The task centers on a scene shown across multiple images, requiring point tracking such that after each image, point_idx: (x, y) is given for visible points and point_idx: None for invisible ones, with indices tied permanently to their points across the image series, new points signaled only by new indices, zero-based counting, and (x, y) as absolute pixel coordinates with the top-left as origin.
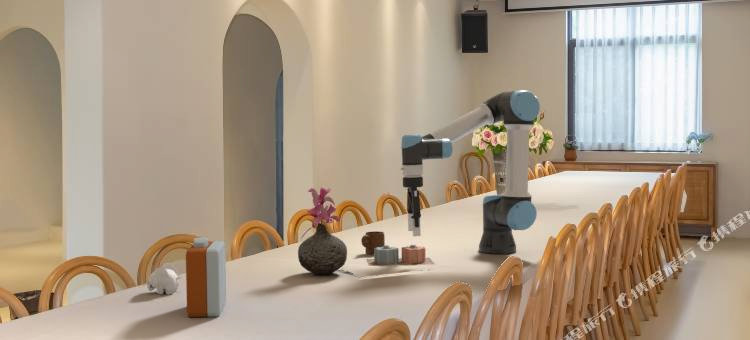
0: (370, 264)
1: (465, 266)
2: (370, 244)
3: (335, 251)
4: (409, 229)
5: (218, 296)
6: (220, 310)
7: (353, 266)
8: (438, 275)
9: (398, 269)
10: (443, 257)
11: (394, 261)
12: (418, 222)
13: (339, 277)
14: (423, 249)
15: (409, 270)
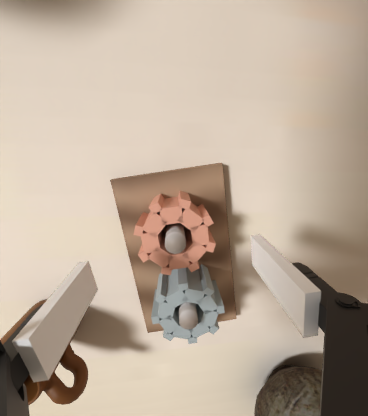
0: (223, 317)
1: (206, 62)
2: (62, 357)
3: None
4: (94, 291)
5: None
6: None
7: (203, 343)
8: (336, 154)
9: (244, 253)
10: (41, 132)
11: (207, 271)
12: (322, 281)
13: (320, 350)
14: (189, 204)
15: (260, 227)
